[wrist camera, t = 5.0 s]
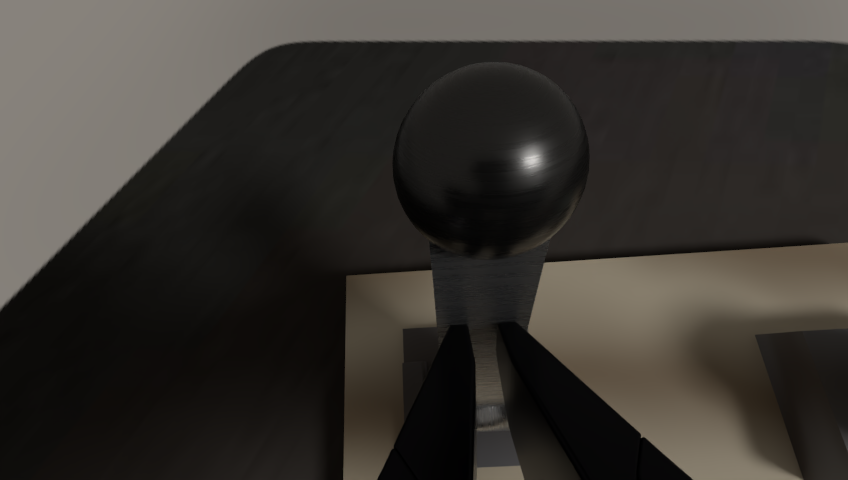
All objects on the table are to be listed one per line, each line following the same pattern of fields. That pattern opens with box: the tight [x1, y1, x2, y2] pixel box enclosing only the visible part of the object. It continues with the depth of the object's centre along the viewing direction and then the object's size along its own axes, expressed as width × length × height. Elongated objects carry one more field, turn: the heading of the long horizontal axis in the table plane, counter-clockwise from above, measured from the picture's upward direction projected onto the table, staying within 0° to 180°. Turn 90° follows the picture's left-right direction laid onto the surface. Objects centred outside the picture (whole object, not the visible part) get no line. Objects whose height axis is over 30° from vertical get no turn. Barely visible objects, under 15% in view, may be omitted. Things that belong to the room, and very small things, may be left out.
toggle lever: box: [393, 62, 589, 432], centre depth 9 cm, size 3×3×12 cm
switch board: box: [343, 243, 848, 480], centre depth 13 cm, size 11×23×5 cm, turn 93°
